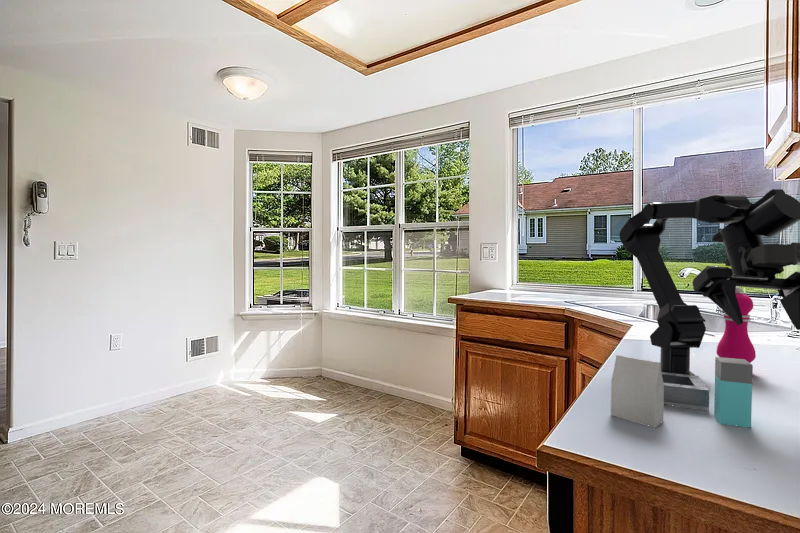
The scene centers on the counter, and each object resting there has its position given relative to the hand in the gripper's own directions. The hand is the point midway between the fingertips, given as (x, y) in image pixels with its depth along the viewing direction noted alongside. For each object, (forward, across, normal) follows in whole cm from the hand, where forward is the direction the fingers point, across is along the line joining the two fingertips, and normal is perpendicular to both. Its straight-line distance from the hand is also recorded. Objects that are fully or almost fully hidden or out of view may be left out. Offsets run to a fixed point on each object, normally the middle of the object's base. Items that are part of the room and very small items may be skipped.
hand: (770, 326), depth 73 cm
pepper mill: (-3, +12, +32) cm, 34 cm away
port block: (+10, -12, +14) cm, 21 cm away
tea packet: (+17, -22, +4) cm, 28 cm away
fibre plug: (+16, -7, +4) cm, 18 cm away
